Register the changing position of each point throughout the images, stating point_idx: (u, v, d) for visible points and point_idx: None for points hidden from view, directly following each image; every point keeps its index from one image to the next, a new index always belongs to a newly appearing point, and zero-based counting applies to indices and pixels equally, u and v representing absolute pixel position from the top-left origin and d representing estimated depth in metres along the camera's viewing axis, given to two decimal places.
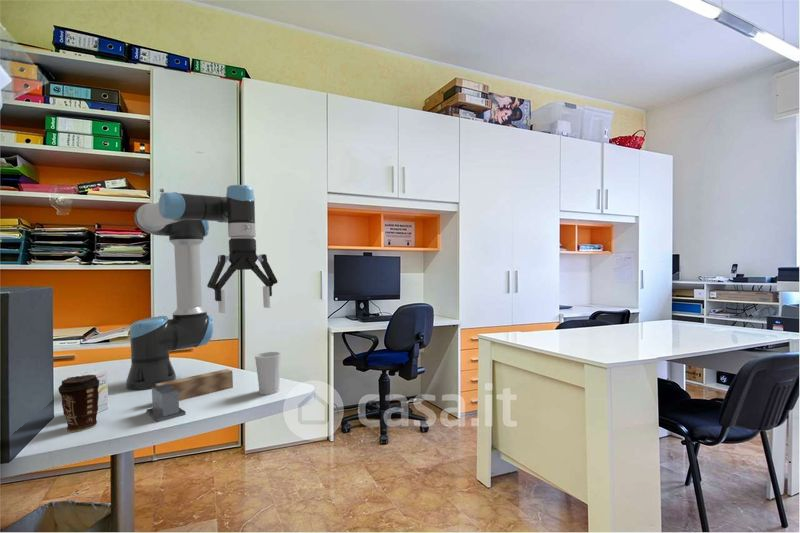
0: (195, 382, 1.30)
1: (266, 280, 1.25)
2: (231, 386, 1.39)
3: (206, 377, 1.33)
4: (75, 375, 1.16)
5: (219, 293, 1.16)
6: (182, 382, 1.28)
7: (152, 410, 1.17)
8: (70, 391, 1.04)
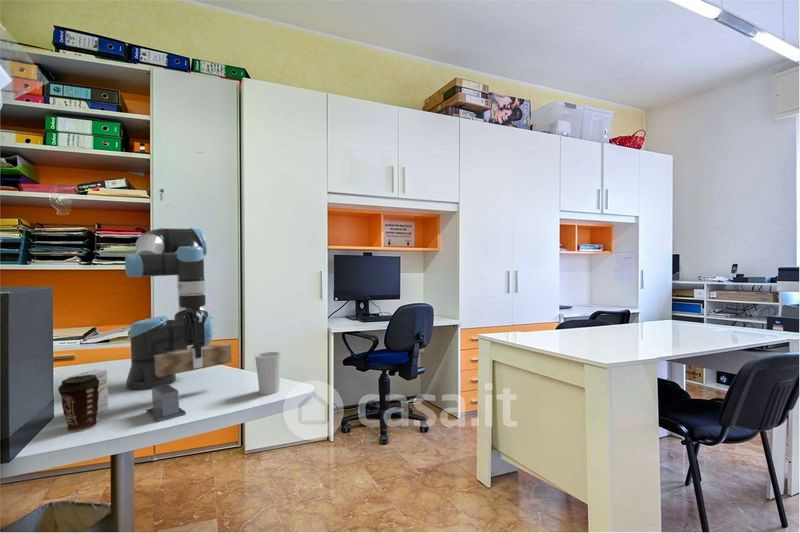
0: None
1: (193, 341, 1.30)
2: (230, 360, 1.39)
3: (205, 350, 1.33)
4: (75, 375, 1.16)
5: (188, 348, 1.34)
6: (181, 354, 1.28)
7: (152, 410, 1.17)
8: (70, 391, 1.04)
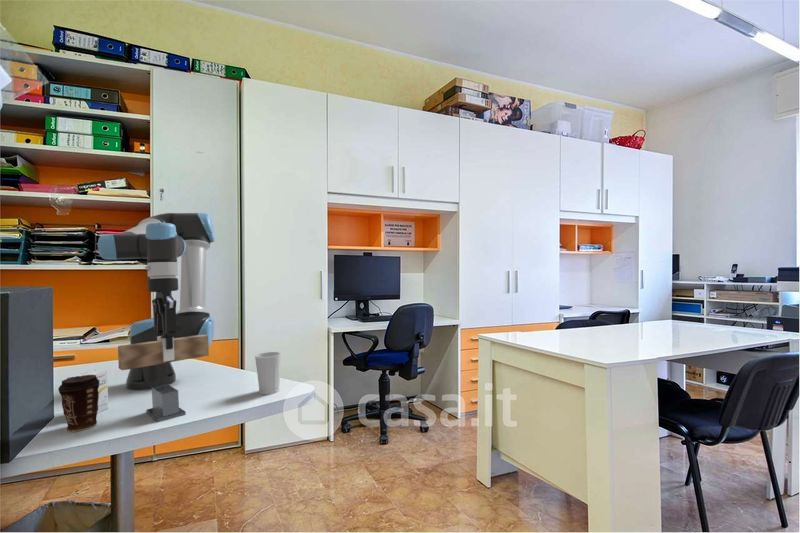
0: None
1: (163, 329, 1.14)
2: (207, 353, 1.23)
3: (177, 341, 1.17)
4: (75, 375, 1.16)
5: (159, 339, 1.19)
6: (149, 344, 1.12)
7: (152, 410, 1.17)
8: (70, 391, 1.04)
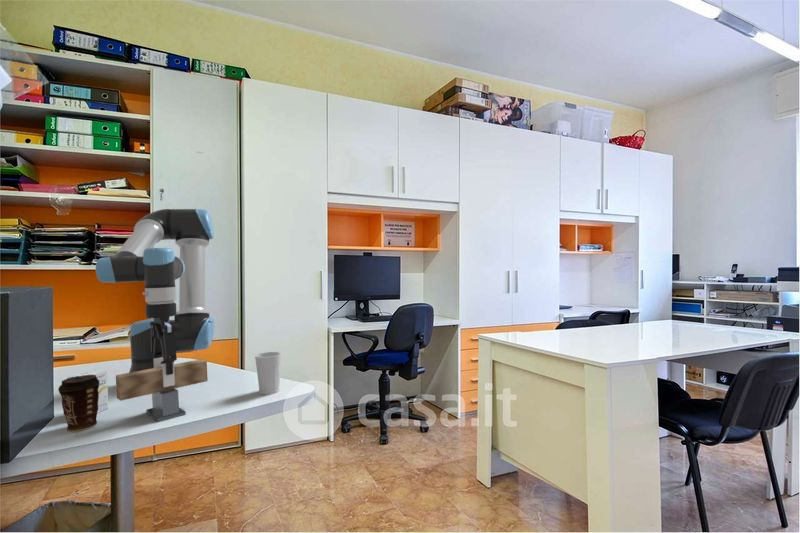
0: (162, 373, 1.14)
1: (163, 355, 1.12)
2: (205, 378, 1.22)
3: (176, 368, 1.17)
4: (75, 375, 1.16)
5: None
6: (147, 373, 1.11)
7: (152, 410, 1.17)
8: (70, 391, 1.04)
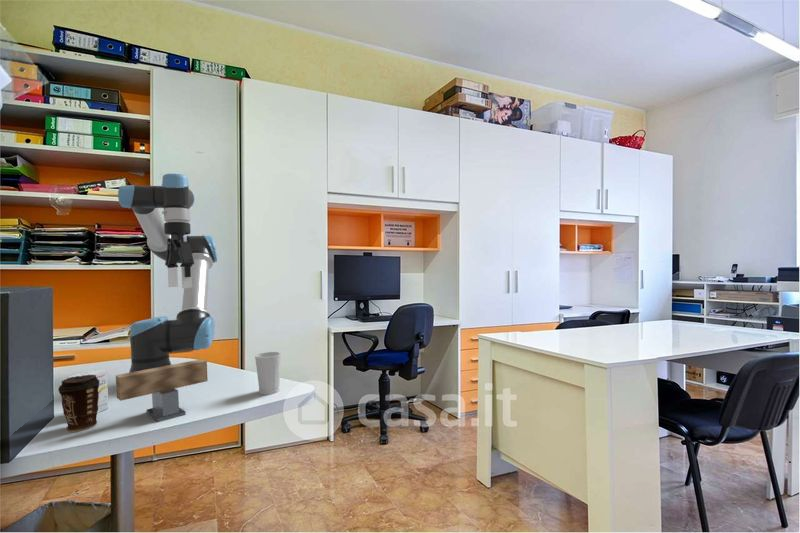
0: (162, 373, 1.14)
1: (181, 261, 1.29)
2: (205, 378, 1.22)
3: (176, 368, 1.17)
4: (75, 375, 1.16)
5: None
6: (147, 373, 1.11)
7: (152, 410, 1.17)
8: (70, 391, 1.04)
